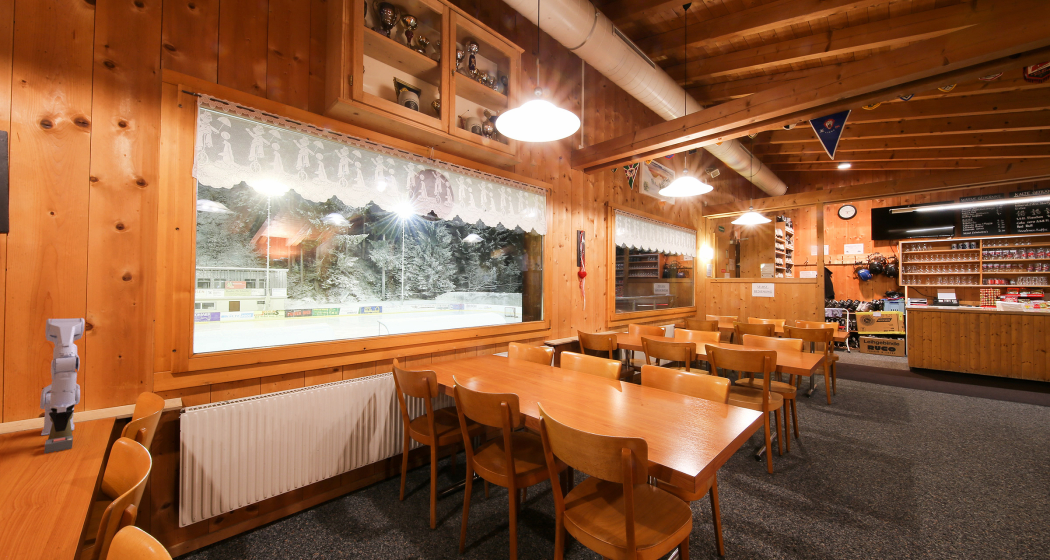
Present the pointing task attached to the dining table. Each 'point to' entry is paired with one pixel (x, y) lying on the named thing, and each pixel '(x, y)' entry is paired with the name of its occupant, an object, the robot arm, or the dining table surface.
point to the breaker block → (58, 444)
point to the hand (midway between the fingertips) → (60, 428)
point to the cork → (60, 434)
